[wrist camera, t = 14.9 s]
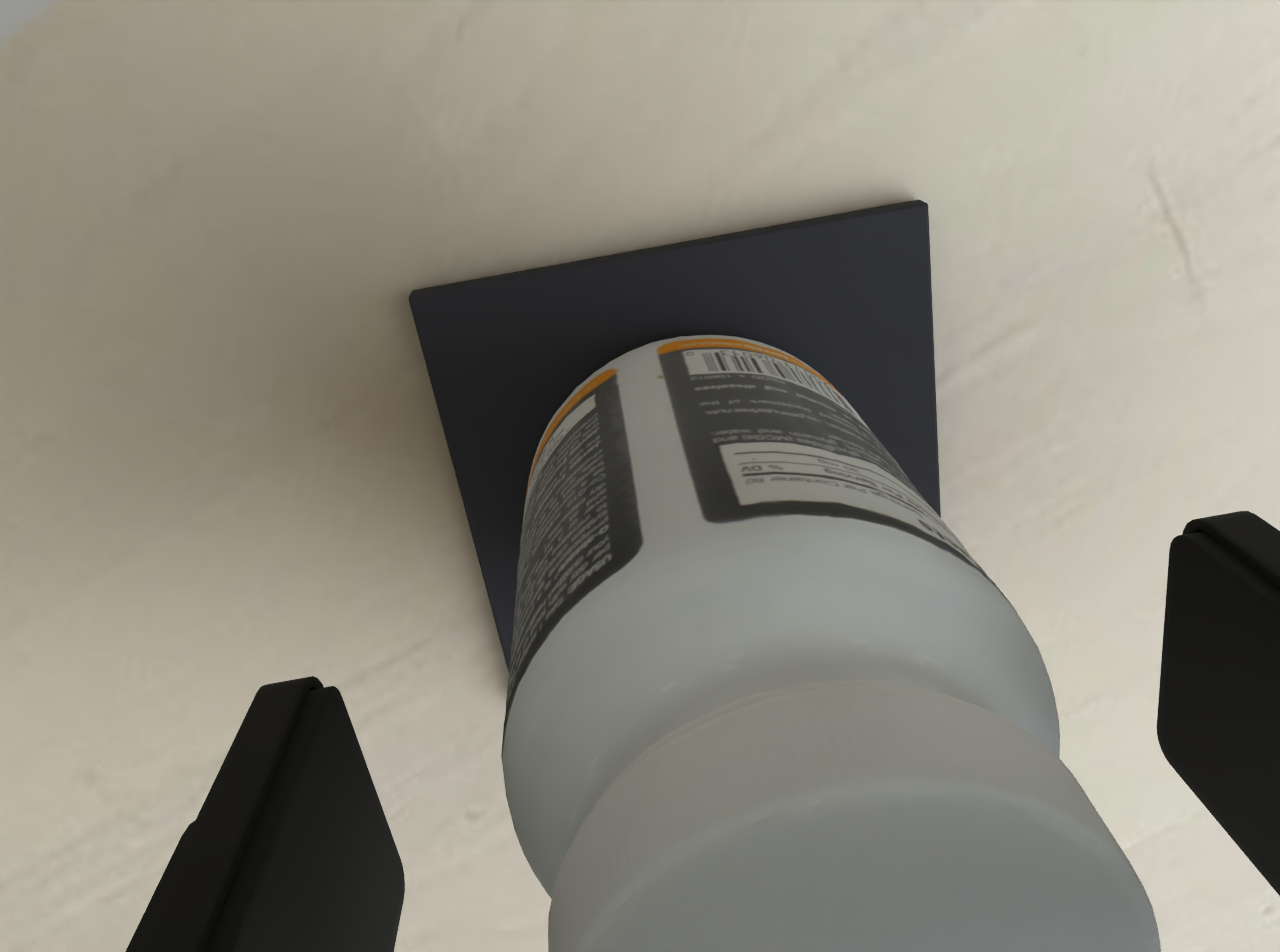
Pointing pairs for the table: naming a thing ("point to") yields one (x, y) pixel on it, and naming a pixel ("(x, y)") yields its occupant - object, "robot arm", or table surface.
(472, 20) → the table surface
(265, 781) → the robot arm
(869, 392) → the mat
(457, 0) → the table surface
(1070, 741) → the table surface
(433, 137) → the table surface
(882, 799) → the pill bottle
